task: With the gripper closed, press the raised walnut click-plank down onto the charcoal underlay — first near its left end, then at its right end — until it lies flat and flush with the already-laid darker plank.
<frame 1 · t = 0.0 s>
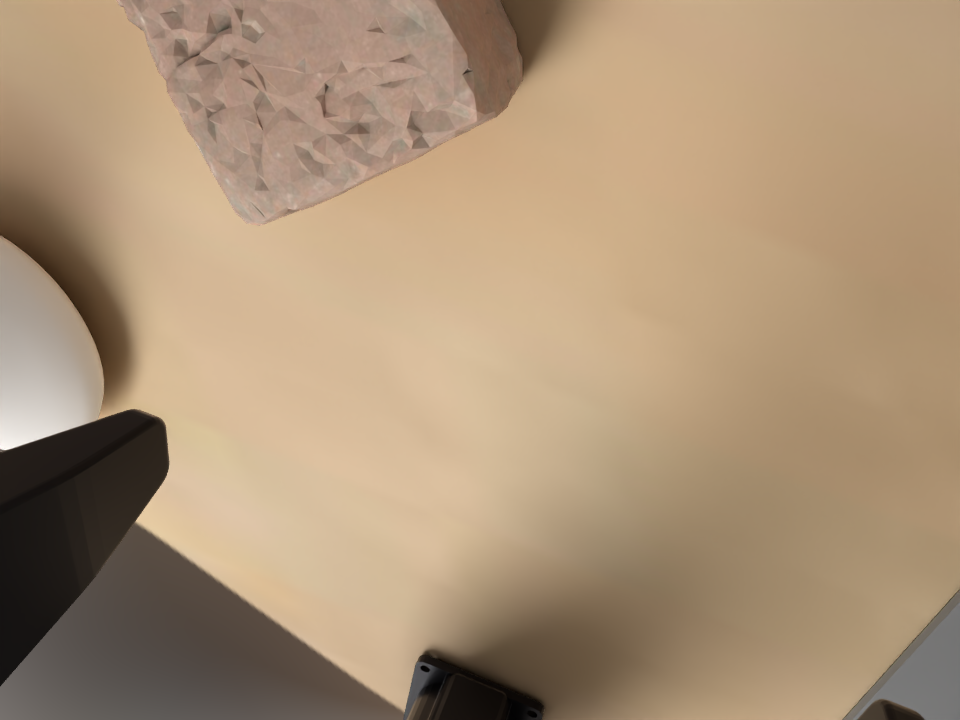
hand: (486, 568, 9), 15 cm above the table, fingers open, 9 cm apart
flower in vase: (13, 324, 33), on the table
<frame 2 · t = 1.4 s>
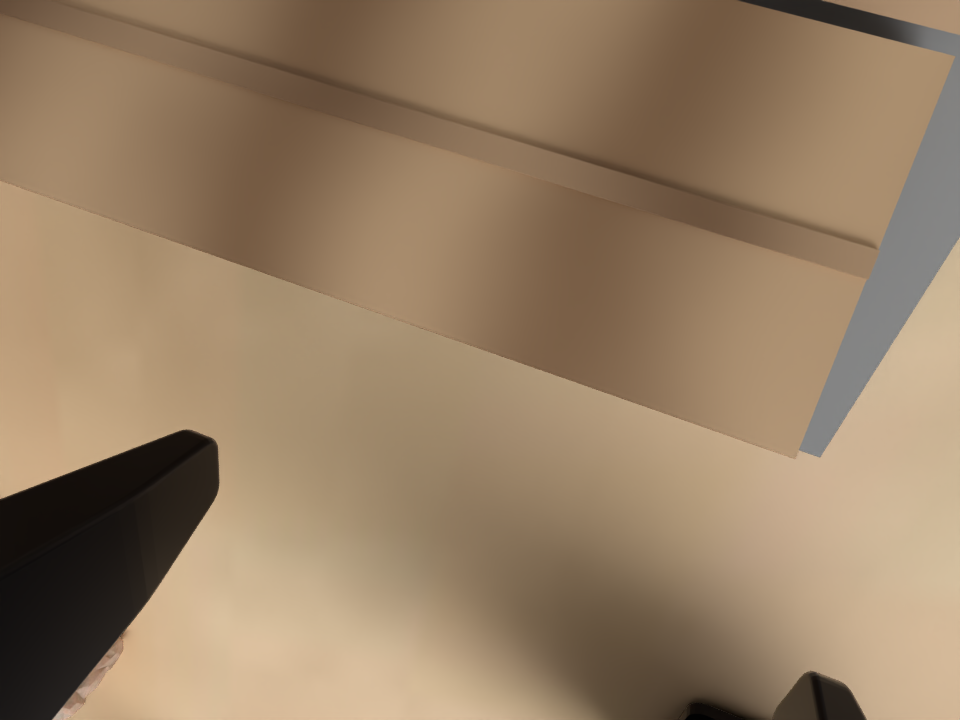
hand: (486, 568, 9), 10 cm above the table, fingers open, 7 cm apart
brick: (9, 600, 38), on the table
click plank: (343, 108, 14), point 3 cm above the table, hinge at 28.0°
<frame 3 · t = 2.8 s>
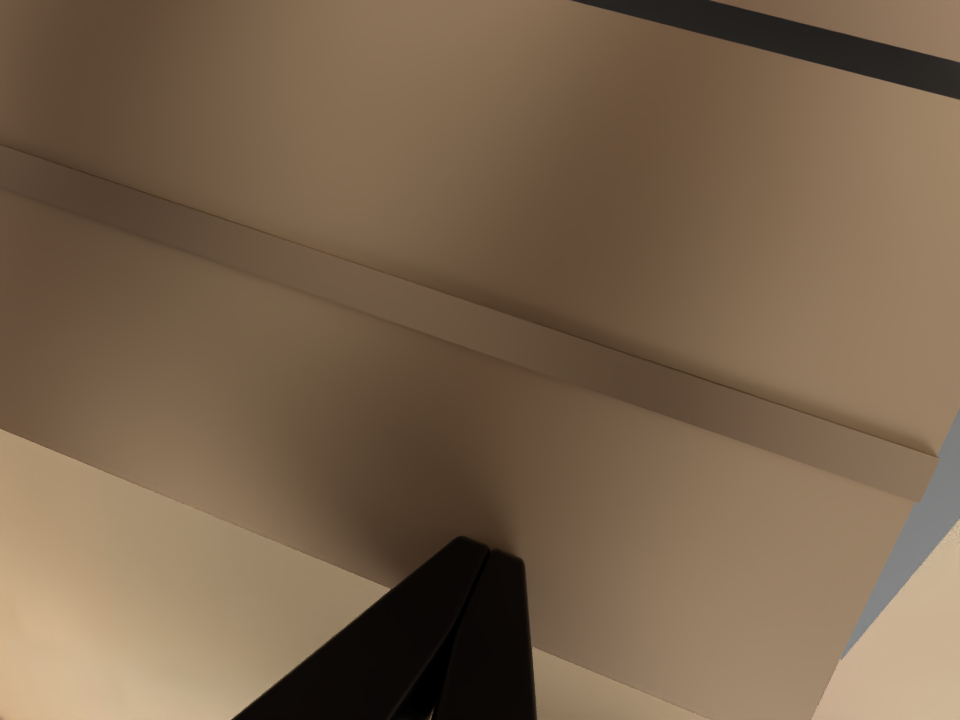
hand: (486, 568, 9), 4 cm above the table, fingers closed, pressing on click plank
click plank: (125, 198, 10), point 2 cm above the table, hinge at 22.2°, touching gripper
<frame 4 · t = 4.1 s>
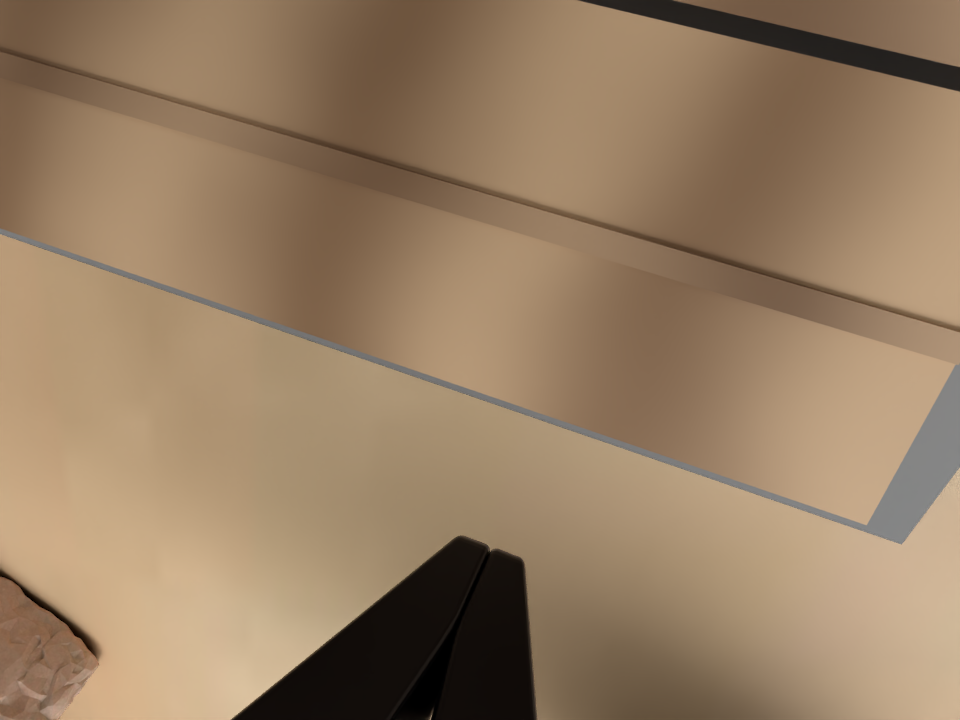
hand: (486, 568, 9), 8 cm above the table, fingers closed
brick: (9, 651, 36), on the table
click plank: (396, 174, 14), point 2 cm above the table, hinge at 10.9°
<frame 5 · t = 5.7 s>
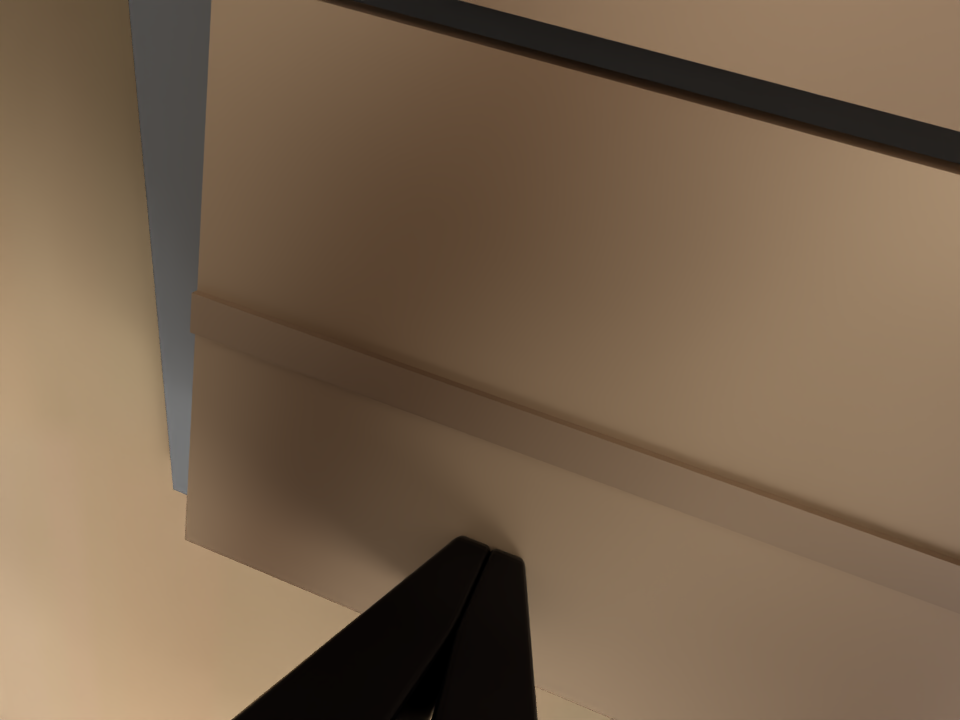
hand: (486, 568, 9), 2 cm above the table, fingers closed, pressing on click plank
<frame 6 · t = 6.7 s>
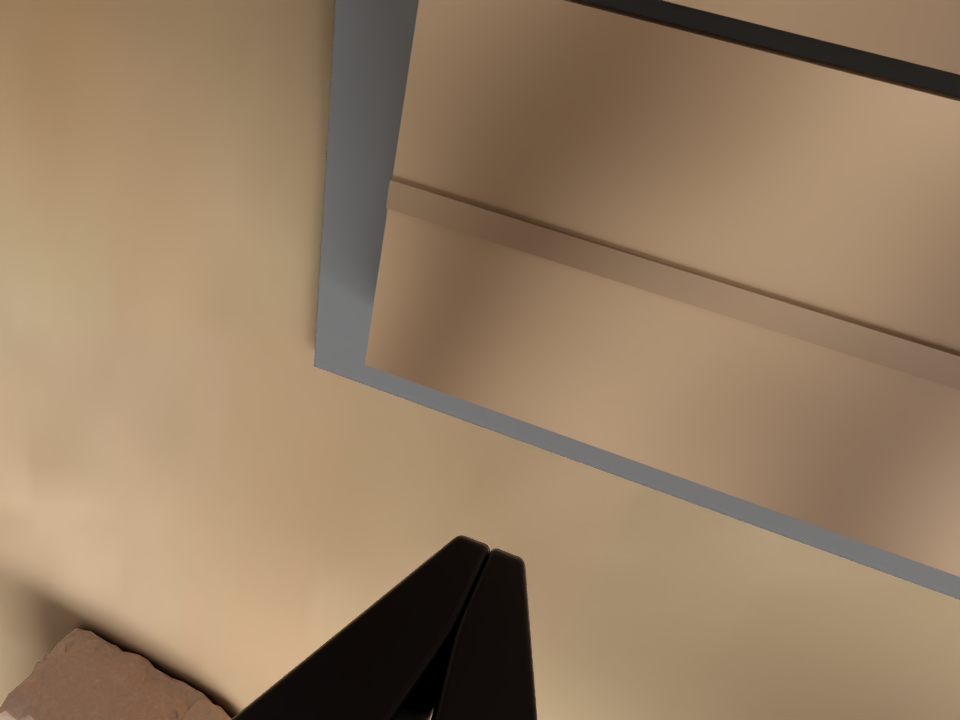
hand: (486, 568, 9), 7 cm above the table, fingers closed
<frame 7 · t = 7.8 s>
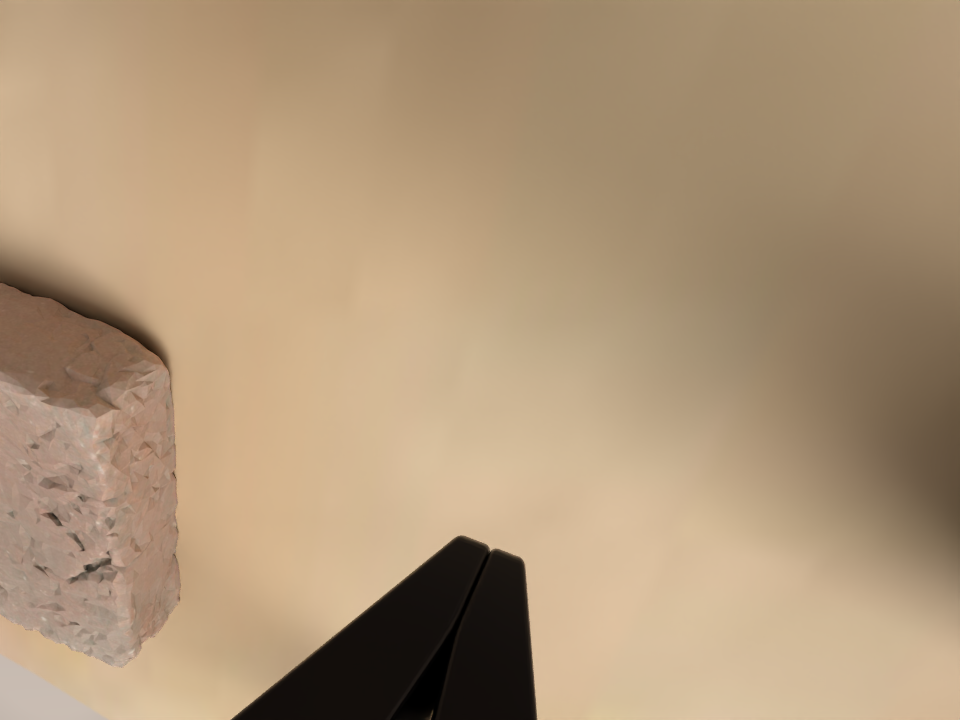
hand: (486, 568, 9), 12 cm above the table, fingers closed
brick: (108, 456, 32), on the table
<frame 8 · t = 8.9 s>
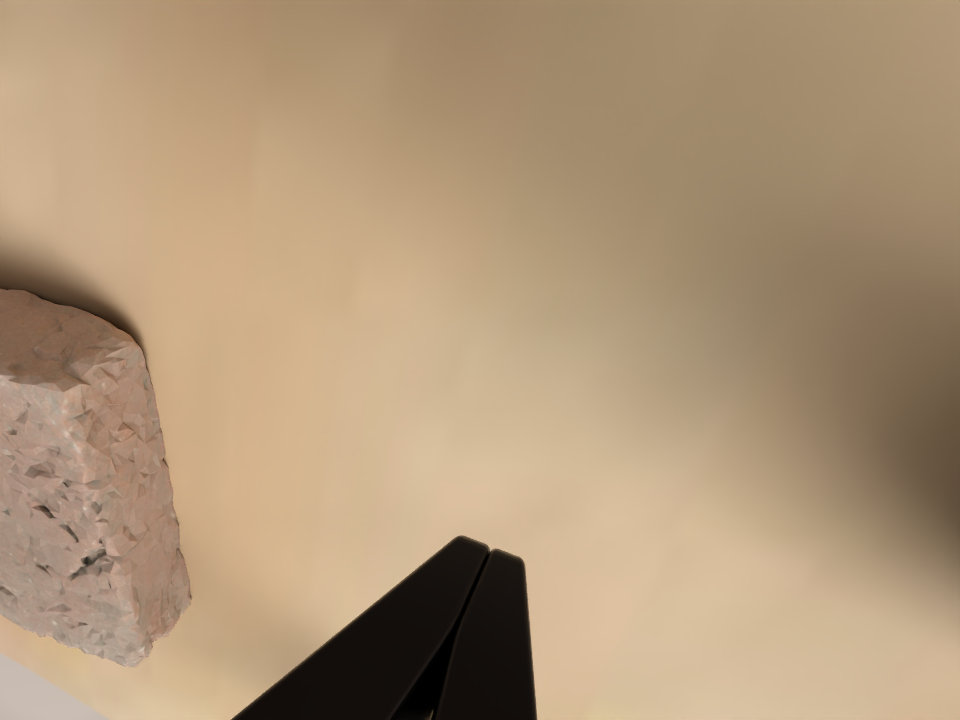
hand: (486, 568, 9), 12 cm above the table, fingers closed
brick: (104, 453, 32), on the table
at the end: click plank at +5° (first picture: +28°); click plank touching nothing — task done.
